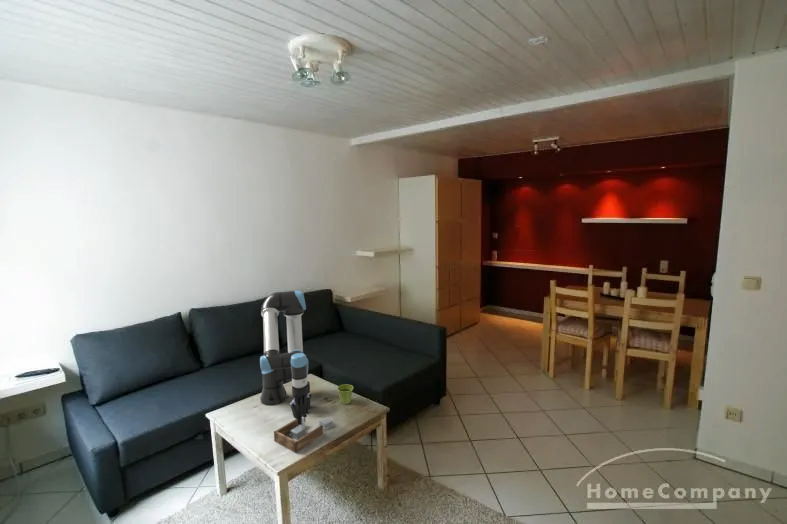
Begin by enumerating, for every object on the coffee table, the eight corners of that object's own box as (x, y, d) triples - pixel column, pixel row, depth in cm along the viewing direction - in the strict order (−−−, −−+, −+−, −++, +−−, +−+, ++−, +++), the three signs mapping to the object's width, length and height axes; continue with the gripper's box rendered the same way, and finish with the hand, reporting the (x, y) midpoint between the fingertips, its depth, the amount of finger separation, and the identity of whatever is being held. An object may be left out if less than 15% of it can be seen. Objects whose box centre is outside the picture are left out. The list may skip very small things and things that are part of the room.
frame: (274, 441, 181) (273, 431, 181) (301, 425, 195) (301, 416, 194) (295, 453, 172) (295, 442, 171) (323, 435, 185) (322, 425, 185)
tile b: (319, 426, 194) (319, 420, 193) (327, 422, 197) (327, 417, 197) (325, 430, 190) (325, 424, 190) (333, 425, 194) (333, 420, 194)
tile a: (290, 436, 185) (289, 430, 185) (298, 431, 189) (297, 425, 189) (296, 439, 182) (296, 433, 182) (304, 434, 186) (304, 429, 186)
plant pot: (355, 398, 223) (354, 384, 221) (351, 406, 213) (351, 392, 212) (339, 397, 223) (339, 384, 222) (335, 405, 214) (335, 391, 213)
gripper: (294, 392, 178) (296, 438, 181) (314, 382, 188) (316, 425, 191) (284, 387, 182) (286, 433, 185) (305, 378, 193) (307, 421, 196)
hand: (302, 429), depth 188 cm, fingers closed
